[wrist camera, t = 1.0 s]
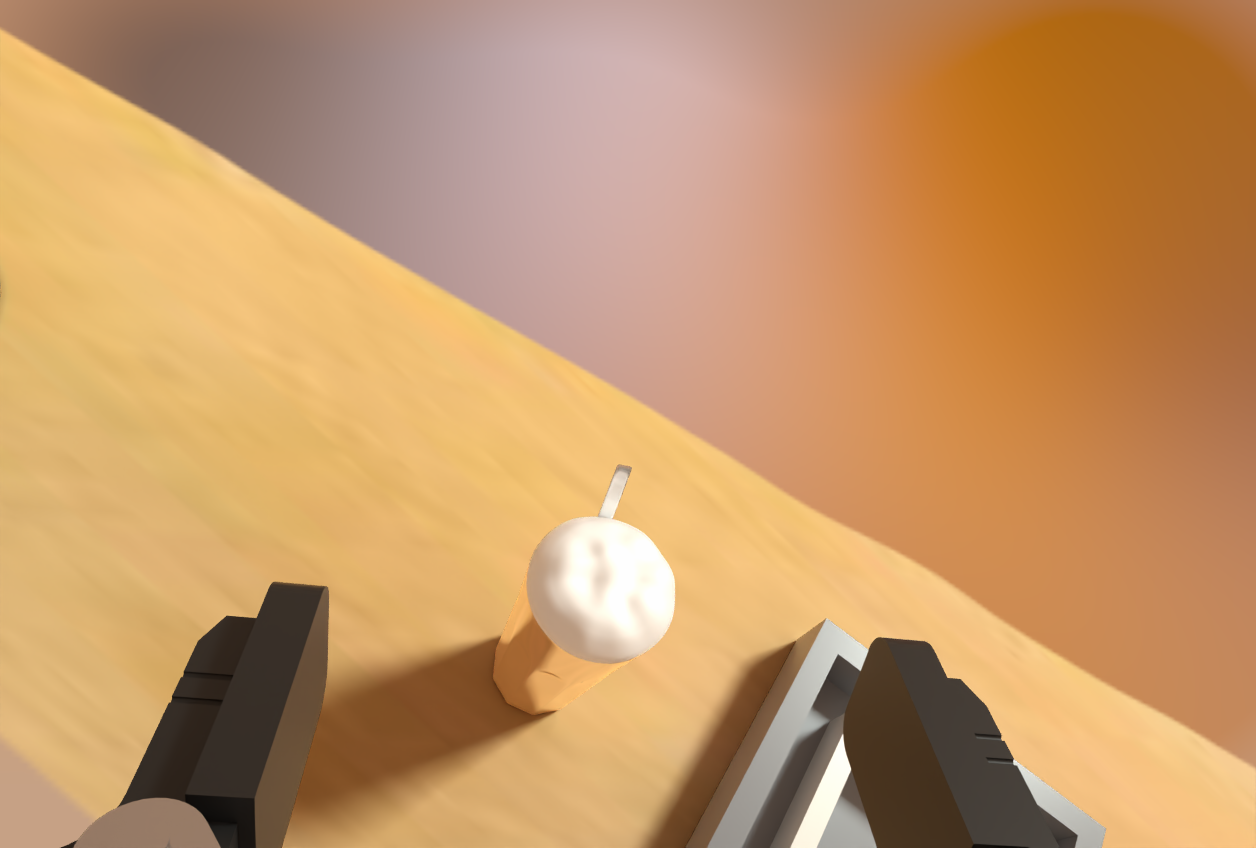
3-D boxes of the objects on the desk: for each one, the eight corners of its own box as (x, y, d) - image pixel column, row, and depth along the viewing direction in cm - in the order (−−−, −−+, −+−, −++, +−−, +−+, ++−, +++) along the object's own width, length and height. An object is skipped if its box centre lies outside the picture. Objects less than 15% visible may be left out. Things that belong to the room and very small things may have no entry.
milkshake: (598, 599, 37) (696, 478, 29) (593, 740, 34) (700, 649, 26) (482, 582, 36) (551, 451, 28) (466, 726, 33) (538, 626, 25)
